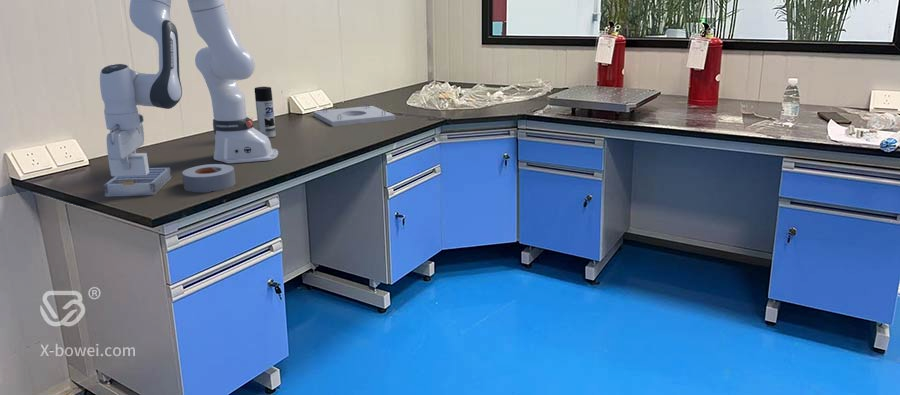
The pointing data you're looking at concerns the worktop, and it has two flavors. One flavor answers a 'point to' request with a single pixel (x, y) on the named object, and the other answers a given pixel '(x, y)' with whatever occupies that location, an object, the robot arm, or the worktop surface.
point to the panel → (137, 165)
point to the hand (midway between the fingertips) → (129, 167)
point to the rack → (138, 183)
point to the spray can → (265, 111)
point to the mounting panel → (353, 115)
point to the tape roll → (208, 178)
